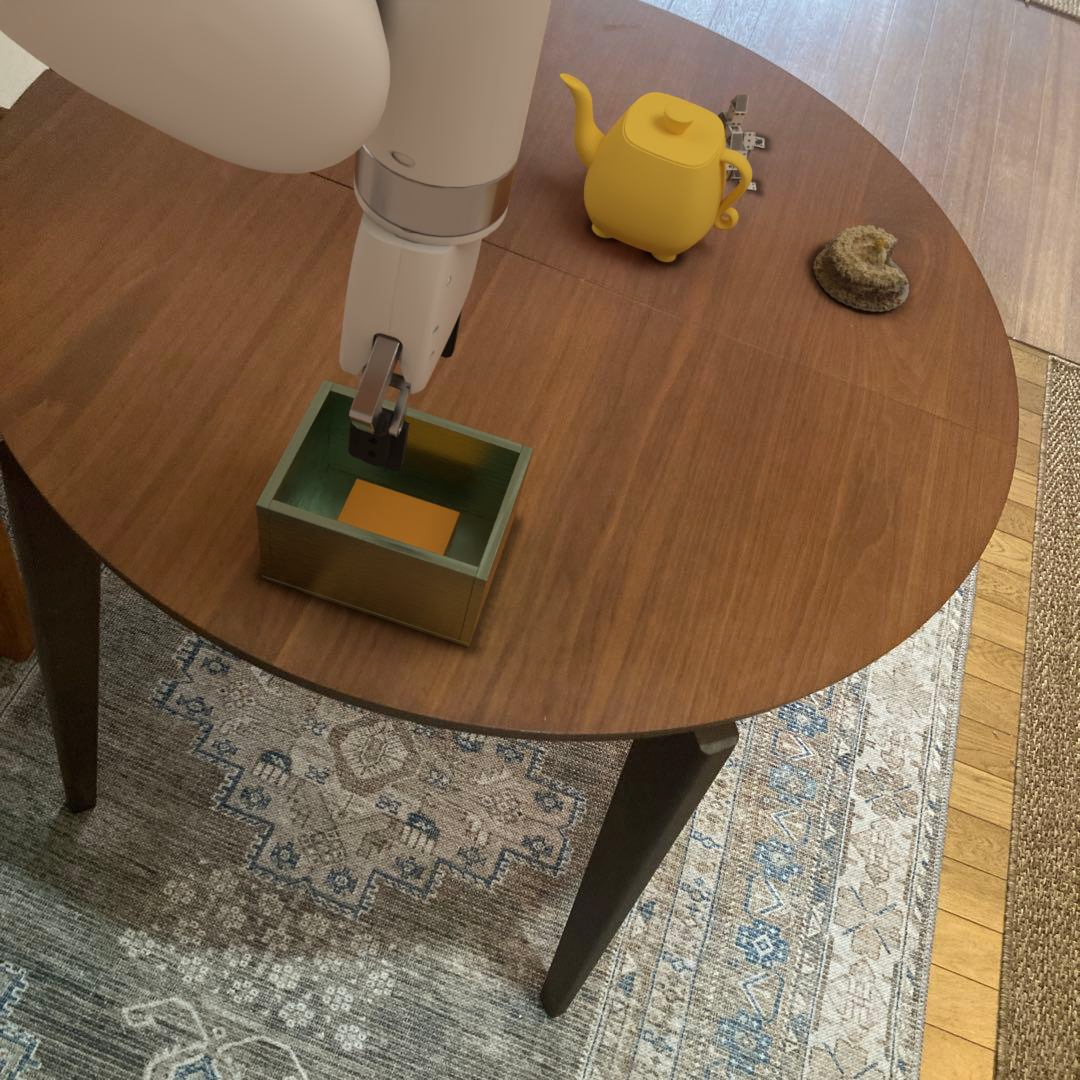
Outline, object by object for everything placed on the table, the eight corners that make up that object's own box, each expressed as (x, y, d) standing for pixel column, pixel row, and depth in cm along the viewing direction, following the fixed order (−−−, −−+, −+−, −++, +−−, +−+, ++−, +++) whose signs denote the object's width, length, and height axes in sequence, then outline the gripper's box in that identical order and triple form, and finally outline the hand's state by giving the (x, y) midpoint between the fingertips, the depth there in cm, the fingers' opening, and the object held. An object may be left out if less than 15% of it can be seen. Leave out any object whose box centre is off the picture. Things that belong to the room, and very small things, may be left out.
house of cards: (790, 190, 110) (819, 128, 104) (716, 191, 108) (740, 127, 102) (762, 136, 115) (788, 73, 109) (690, 135, 113) (712, 71, 106)
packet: (328, 558, 76) (328, 536, 73) (355, 501, 79) (356, 478, 76) (432, 593, 76) (436, 572, 73) (455, 534, 79) (460, 512, 76)
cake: (823, 316, 101) (842, 274, 97) (801, 246, 107) (817, 203, 102) (920, 317, 103) (942, 275, 98) (893, 248, 108) (913, 205, 104)
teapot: (706, 297, 99) (752, 188, 88) (513, 220, 100) (536, 103, 89) (739, 214, 107) (786, 105, 96) (560, 143, 108) (587, 27, 97)
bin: (261, 579, 74) (255, 504, 66) (322, 459, 81) (323, 378, 73) (468, 647, 74) (486, 580, 66) (512, 522, 81) (534, 448, 73)
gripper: (419, 50, 54) (392, 291, 68) (288, 255, 44) (289, 488, 58) (554, 97, 54) (500, 328, 68) (454, 312, 44) (415, 531, 58)
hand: (403, 401), depth 63 cm, fingers open, 9 cm apart
